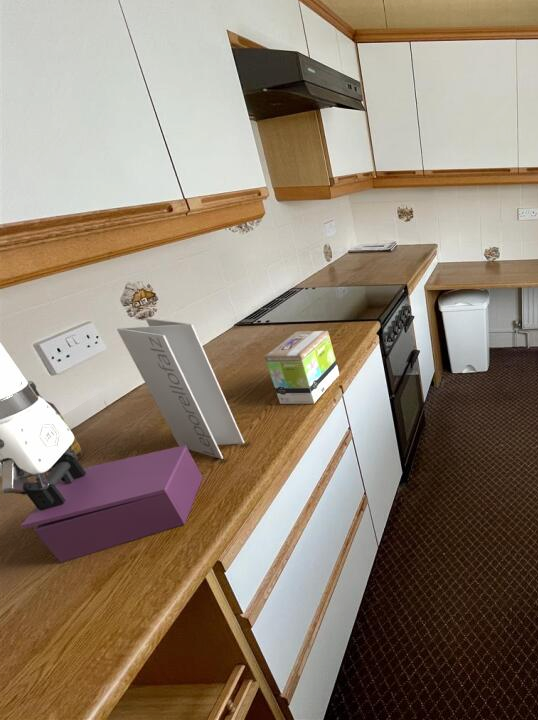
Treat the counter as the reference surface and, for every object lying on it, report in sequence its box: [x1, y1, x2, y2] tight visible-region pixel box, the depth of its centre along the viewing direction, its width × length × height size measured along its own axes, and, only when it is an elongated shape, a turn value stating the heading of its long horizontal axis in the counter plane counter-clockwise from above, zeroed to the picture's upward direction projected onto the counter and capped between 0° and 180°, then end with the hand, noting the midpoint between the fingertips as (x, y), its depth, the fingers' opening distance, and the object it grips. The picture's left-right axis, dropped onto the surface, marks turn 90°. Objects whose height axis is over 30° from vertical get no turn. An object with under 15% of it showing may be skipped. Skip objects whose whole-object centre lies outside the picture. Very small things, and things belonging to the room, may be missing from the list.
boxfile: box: [34, 449, 203, 564], centre depth 74 cm, size 18×13×8 cm
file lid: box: [20, 445, 187, 530], centre depth 71 cm, size 18×13×5 cm
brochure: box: [116, 317, 245, 460], centre depth 87 cm, size 14×6×30 cm, turn 70°
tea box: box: [264, 330, 340, 405], centre depth 110 cm, size 15×10×15 cm
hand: (64, 490), depth 69 cm, fingers closed on file lid, 6 cm apart
